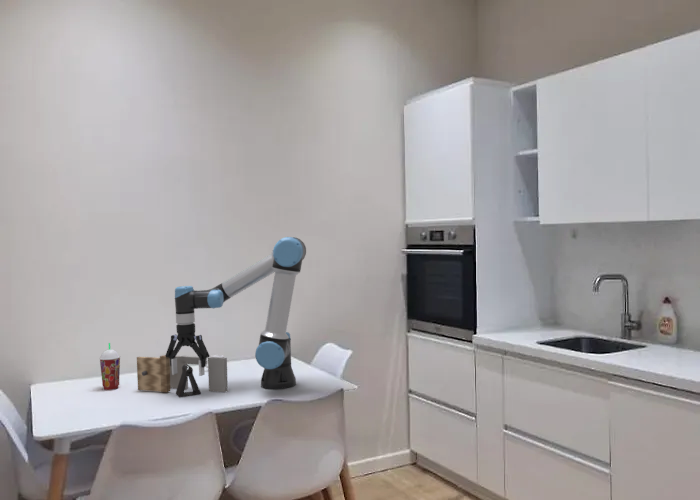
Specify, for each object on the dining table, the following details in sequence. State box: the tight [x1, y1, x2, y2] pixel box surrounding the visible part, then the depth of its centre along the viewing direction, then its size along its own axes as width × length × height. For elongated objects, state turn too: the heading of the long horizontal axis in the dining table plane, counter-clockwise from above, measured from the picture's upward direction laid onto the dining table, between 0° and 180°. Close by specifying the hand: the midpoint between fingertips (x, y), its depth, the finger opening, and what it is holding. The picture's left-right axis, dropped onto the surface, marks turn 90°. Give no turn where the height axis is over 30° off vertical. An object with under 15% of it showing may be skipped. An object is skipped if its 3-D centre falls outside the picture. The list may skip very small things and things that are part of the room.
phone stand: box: [175, 364, 201, 398], centre depth 259 cm, size 9×6×12 cm, turn 118°
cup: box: [205, 354, 225, 369], centre depth 306 cm, size 8×10×7 cm
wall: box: [161, 354, 229, 393], centre depth 267 cm, size 32×2×14 cm, turn 68°
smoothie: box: [99, 342, 121, 391], centre depth 274 cm, size 8×8×20 cm
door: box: [136, 354, 172, 393], centre depth 265 cm, size 16×3×15 cm, turn 68°
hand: (188, 374), depth 259 cm, fingers open, 13 cm apart
